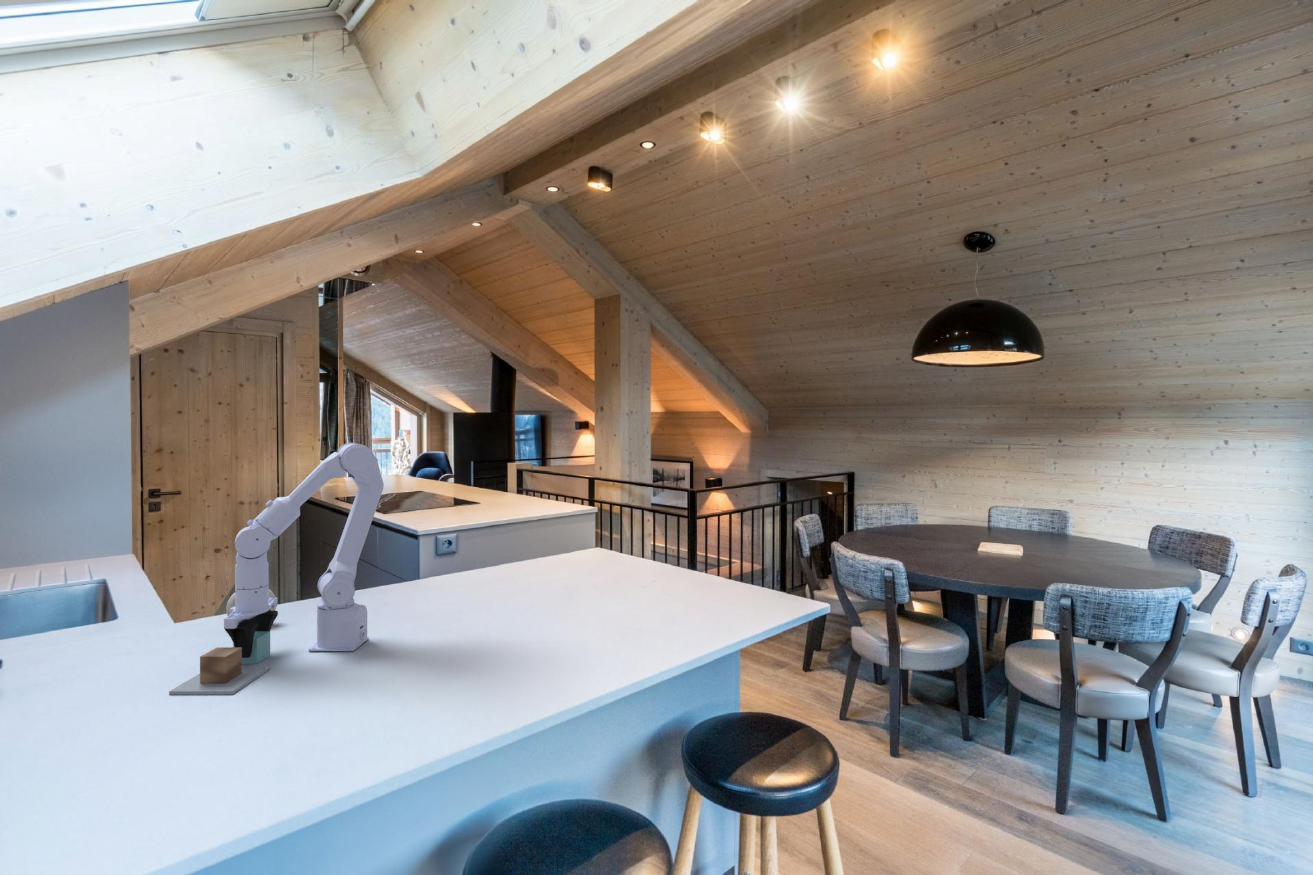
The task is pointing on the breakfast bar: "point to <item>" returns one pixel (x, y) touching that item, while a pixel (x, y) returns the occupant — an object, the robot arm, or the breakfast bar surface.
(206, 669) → the walnut brick
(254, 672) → the baseplate
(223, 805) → the breakfast bar surface
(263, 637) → the teal brick
